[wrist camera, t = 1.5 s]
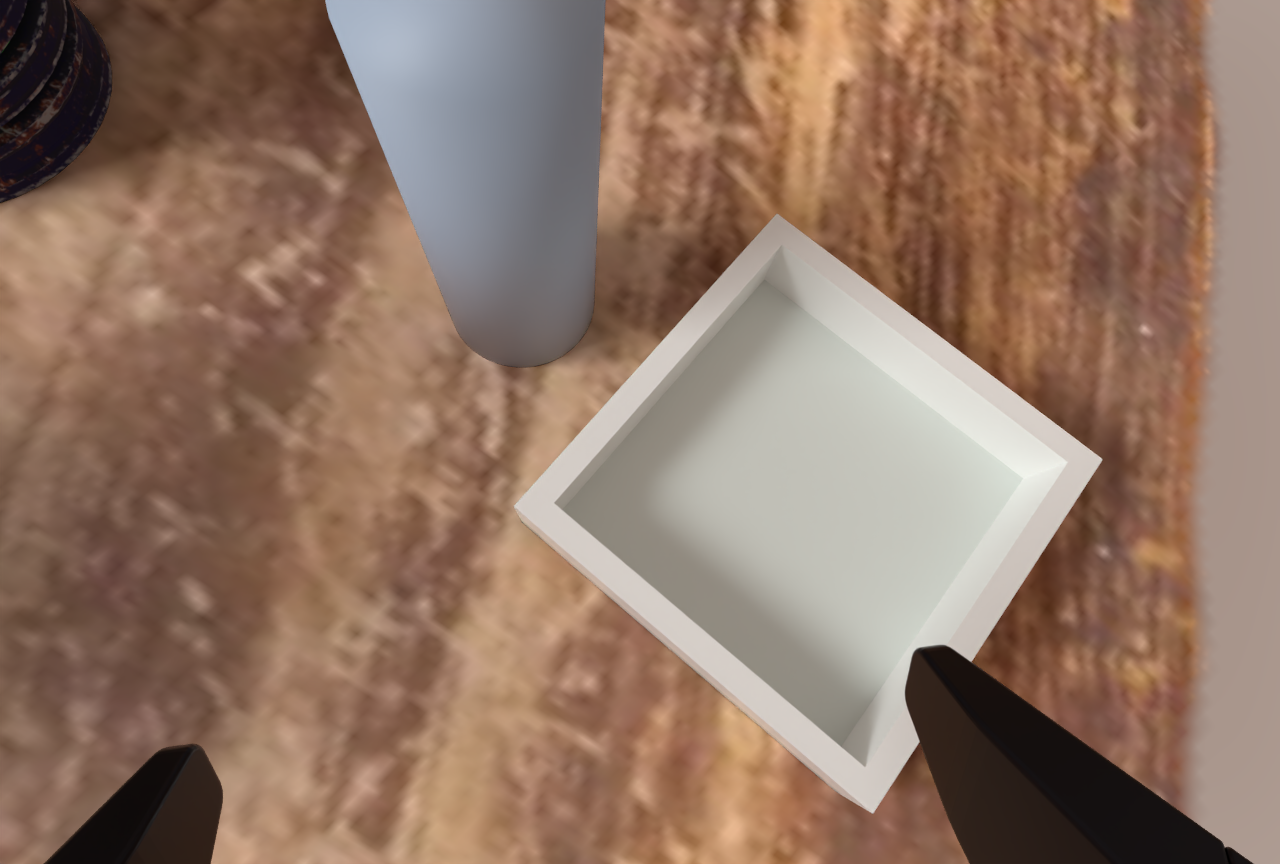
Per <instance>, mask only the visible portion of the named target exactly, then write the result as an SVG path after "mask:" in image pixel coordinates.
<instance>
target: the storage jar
mask: <svg viewBox="0 0 1280 864" xmlns="http://www.w3.org/2000/svg"><path fill="white" fill-rule="evenodd" d="M111 91H112V70H111V64H110V59H109V55H108V53H107V50H106V48H105V45H104V43H103V40H102V39H101V37H100V36H99V34H98V33H97V31H96V30H95V28H94V27H93V26H92V24H91V23H90V22H89V21H88V19H87V18H86V17H85V16H84V14H83V13H82V12H81V11H80V10H79V9H78V8H77V7H76V6H75V5H74V4H73V3H72V1H71V0H0V203H1V202H4V201H7V200H9V199H12V198H15V197H18V196H20V195H22V194H24V193H26V192H28V191H30V190H32V189H34V188H36V187H38V186H40V185H42V184H43V183H45V182H46V181H48V180H49V179H51V178H52V177H54V176H55V175H57V174H58V173H60V172H61V171H62V170H63V169H64V168H65V167H67V166H68V165H69V164H70V163H71V162H72V161H73V160H75V159H76V158H77V156H78V155H79V154H80V153H81V152H82V151H83V150H84V148H85V147H86V146H87V145H88V144H89V143H90V141H91V140H92V138H93V136H94V135H95V133H96V132H97V130H98V129H99V127H100V125H101V123H102V121H103V118H104V116H105V113H106V111H107V109H108V105H109V100H110V96H111Z"/></svg>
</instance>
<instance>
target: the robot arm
mask: <svg viewBox="0 0 1280 864" xmlns="http://www.w3.org/2000/svg"><path fill="white" fill-rule="evenodd" d="M905 701H906V705H907V709H908V711H909V714H910V717H911V720H912V722H913V725H914V728H915V730H916V733H917V736H918V739H919V741H920V744H921V747H922V750H923V752H924V755H925V758H926V760H927V763H928V766H929V769H930V771H931V774H932V777H933V779H934V782H935V785H936V788H937V790H938V793H939V796H940V799H941V801H942V804H943V806H944V809H945V811H946V814H947V816H948V819H949V821H950V823H951V826H952V828H953V830H954V832H955V834H956V837H957V839H958V841H959V843H960V845H961V847H962V849H963V851H964V853H965V855H966V857H967V859H968V861H969V863H970V864H1253V863H1252V862H1250V861H1249V860H1248V859H1246V858H1245V857H1243V856H1242V855H1240V854H1239V853H1238V852H1236V851H1235V850H1234V849H1232V848H1230V847H1224V845H1223V843H1222V841H1221V840H1219V839H1218V838H1216V837H1215V836H1214V835H1212V834H1211V833H1209V832H1208V831H1207V830H1205V829H1204V828H1202V827H1201V826H1200V825H1198V824H1197V823H1195V822H1194V821H1193V820H1191V819H1190V818H1188V817H1187V816H1186V815H1184V814H1183V813H1182V812H1180V811H1179V810H1177V809H1176V808H1175V807H1173V806H1172V805H1170V804H1169V803H1168V802H1166V801H1165V800H1163V799H1162V798H1161V797H1159V796H1158V795H1156V794H1155V793H1154V792H1152V791H1151V790H1149V789H1148V788H1147V787H1145V786H1144V785H1142V784H1141V783H1140V782H1138V781H1137V780H1135V779H1134V778H1133V777H1131V776H1130V775H1128V774H1127V773H1126V772H1124V771H1123V770H1121V769H1120V768H1119V767H1117V766H1116V765H1114V764H1113V763H1112V762H1110V761H1109V760H1107V759H1106V758H1105V757H1103V756H1102V755H1100V754H1099V753H1098V752H1096V751H1095V750H1094V749H1092V748H1091V747H1089V746H1088V745H1087V744H1085V743H1084V742H1082V741H1081V740H1080V739H1078V738H1077V737H1075V736H1074V735H1073V734H1071V733H1070V732H1068V731H1067V730H1066V729H1064V728H1063V727H1061V726H1060V725H1059V724H1057V723H1056V722H1054V721H1053V720H1052V719H1050V718H1049V717H1047V716H1046V715H1045V714H1043V713H1042V712H1040V711H1039V710H1038V709H1036V708H1035V707H1033V706H1032V705H1031V704H1029V703H1028V702H1026V701H1025V700H1024V699H1022V698H1021V697H1019V696H1018V695H1017V694H1015V693H1014V692H1013V691H1011V690H1010V689H1008V688H1007V687H1006V686H1004V685H1003V684H1001V683H1000V682H999V681H997V680H996V679H994V678H993V677H992V676H990V675H989V674H987V673H986V672H985V671H983V670H982V669H980V668H979V667H978V666H976V665H975V664H973V663H972V662H971V661H969V660H968V659H966V658H965V657H964V656H962V655H961V654H959V653H958V652H957V651H955V650H954V649H952V648H951V647H949V646H946V645H933V646H925V647H919V648H917V649H916V650H915V651H914V652H913V655H912V658H911V663H910V667H909V672H908V676H907V681H906V685H905ZM222 803H223V790H222V786H221V783H220V780H219V779H218V777H217V775H216V773H215V771H214V769H213V767H212V765H211V763H210V761H209V759H208V757H207V755H206V753H205V751H204V750H203V748H202V747H201V746H199V745H197V744H187V745H179V746H172V747H166V748H163V749H161V750H159V751H158V752H156V753H155V754H154V755H153V756H152V757H151V758H150V759H149V760H148V761H147V762H146V763H145V764H144V765H143V766H142V767H141V768H140V769H139V770H138V771H137V772H136V773H135V774H134V775H133V776H132V777H131V778H130V779H129V780H128V781H127V782H126V783H125V784H124V785H123V786H122V787H121V788H120V789H119V790H118V791H117V792H116V793H115V794H114V795H112V796H111V797H110V798H109V799H108V800H107V801H106V802H105V803H104V804H103V805H102V806H101V807H100V808H99V809H98V810H97V811H96V812H95V813H94V814H93V815H92V816H91V817H90V818H89V819H88V820H87V821H86V822H85V823H84V824H83V825H82V826H81V827H80V828H79V829H78V830H77V831H76V832H75V833H74V834H73V835H72V836H71V837H70V838H69V839H68V840H67V841H66V842H65V843H64V844H63V845H62V846H61V847H60V848H59V849H58V850H57V851H56V852H55V853H54V854H53V855H52V856H51V857H50V858H49V859H48V860H47V861H46V862H45V863H44V864H211V859H212V854H213V849H214V844H215V839H216V834H217V829H218V824H219V819H220V814H221V809H222Z"/></svg>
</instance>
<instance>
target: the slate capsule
mask: <svg viewBox="0 0 1280 864" xmlns="http://www.w3.org/2000/svg"><path fill="white" fill-rule="evenodd" d="M325 2H326V7H327V11H328V15H329V19H330V21H331V24H332V26H333V29H334V31H335V34H336V36H337V38H338V41H339V43H340V46H341V48H342V51H343V53H344V56H345V58H346V61H347V63H348V65H349V68H350V70H351V73H352V75H353V78H354V80H355V83H356V85H357V88H358V90H359V92H360V95H361V97H362V100H363V102H364V105H365V107H366V110H367V112H368V115H369V117H370V119H371V122H372V124H373V127H374V129H375V132H376V134H377V137H378V139H379V142H380V144H381V146H382V149H383V151H384V154H385V156H386V159H387V161H388V164H389V166H390V169H391V171H392V173H393V176H394V178H395V181H396V183H397V186H398V188H399V191H400V193H401V196H402V198H403V200H404V203H405V205H406V208H407V210H408V213H409V215H410V218H411V220H412V223H413V225H414V227H415V230H416V232H417V235H418V237H419V240H420V242H421V245H422V247H423V249H424V252H425V254H426V257H427V259H428V262H429V264H430V267H431V269H432V272H433V274H434V276H435V279H436V281H437V284H438V286H439V289H440V291H441V294H442V296H443V299H444V301H445V303H446V306H447V308H448V311H449V313H450V316H451V318H452V321H453V323H454V325H455V328H456V330H457V332H458V333H459V335H460V337H461V338H462V339H463V340H464V342H465V343H466V344H467V345H468V346H469V347H470V348H471V349H472V350H473V351H475V352H476V353H477V354H479V355H480V356H482V357H484V358H486V359H487V360H489V361H492V362H495V363H497V364H501V365H505V366H511V367H532V366H538V365H542V364H546V363H548V362H551V361H554V360H556V359H558V358H559V357H561V356H563V355H564V354H566V353H567V352H569V351H570V350H571V349H572V348H573V347H574V346H575V345H576V344H577V343H578V342H579V341H580V340H581V338H582V337H583V336H584V334H585V332H586V331H587V329H588V327H589V324H590V322H591V319H592V315H593V310H594V297H595V270H596V243H597V216H598V188H599V161H600V134H601V107H602V79H603V52H604V25H605V0H325Z"/></svg>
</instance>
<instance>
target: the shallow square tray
mask: <svg viewBox="0 0 1280 864" xmlns="http://www.w3.org/2000/svg"><path fill="white" fill-rule="evenodd" d="M1102 460H1103V459H1102V458H1100V457H1099V456H1098V455H1096V454H1095V453H1094V452H1092V451H1091V450H1090V449H1088V448H1087V447H1086V446H1084V445H1083V444H1082V443H1080V442H1079V441H1078V440H1076V439H1075V438H1074V437H1073V436H1071V435H1070V434H1069V433H1067V432H1066V431H1065V430H1063V429H1062V428H1061V427H1059V426H1058V425H1057V424H1055V423H1054V422H1053V421H1051V420H1050V419H1049V418H1047V417H1046V416H1045V415H1043V414H1042V413H1041V412H1039V411H1038V410H1037V409H1035V408H1034V407H1033V406H1031V405H1030V404H1029V403H1027V402H1026V401H1025V400H1023V399H1022V398H1021V397H1020V396H1018V395H1017V394H1016V393H1014V392H1013V391H1012V390H1010V389H1009V388H1008V387H1006V386H1005V385H1004V384H1002V383H1001V382H1000V381H998V380H997V379H996V378H994V377H993V376H992V375H990V374H989V373H988V372H986V371H985V370H984V369H982V368H981V367H980V366H978V365H977V364H976V363H974V362H973V361H972V360H970V359H969V358H968V357H967V356H965V355H964V354H963V353H961V352H960V351H959V350H957V349H956V348H955V347H953V346H952V345H951V344H949V343H948V342H947V341H945V340H944V339H943V338H941V337H940V336H939V335H937V334H936V333H935V332H933V331H932V330H931V329H929V328H928V327H927V326H925V325H924V324H923V323H921V322H920V321H919V320H917V319H916V318H915V317H914V316H912V315H911V314H910V313H908V312H907V311H906V310H904V309H903V308H902V307H900V306H899V305H898V304H896V303H895V302H894V301H892V300H891V299H890V298H888V297H887V296H886V295H884V294H883V293H882V292H880V291H879V290H878V289H876V288H875V287H874V286H872V285H871V284H870V283H868V282H867V281H866V280H865V279H863V278H862V277H861V276H859V275H858V274H857V273H855V272H854V271H853V270H851V269H850V268H849V267H847V266H846V265H845V264H843V263H842V262H841V261H839V260H838V259H837V258H835V257H834V256H833V255H831V254H830V253H829V252H827V251H826V250H825V249H823V248H822V247H821V246H819V245H818V244H817V243H815V242H814V241H813V240H812V239H810V238H809V237H808V236H806V235H805V234H804V233H802V232H801V231H800V230H798V229H797V228H796V227H794V226H793V225H792V224H790V223H789V222H788V221H786V220H785V219H784V218H782V217H781V216H780V215H778V214H776V215H775V216H774V217H773V218H772V219H771V221H770V222H769V223H768V224H767V225H766V226H765V227H764V228H763V229H762V231H761V232H760V233H759V234H758V235H757V236H756V237H755V238H754V239H753V241H752V242H751V243H750V244H749V245H748V246H747V247H746V248H745V249H744V251H743V252H742V253H741V254H740V255H739V256H738V257H737V258H736V259H735V261H734V262H733V263H732V264H731V265H730V266H729V267H728V268H727V269H726V271H725V272H724V273H723V274H722V275H721V276H720V277H719V278H718V279H717V281H716V282H715V283H714V284H713V285H712V286H711V287H710V288H709V290H708V291H707V292H706V293H705V294H704V295H703V296H702V297H701V298H700V300H699V301H698V302H697V303H696V304H695V305H694V306H693V307H692V308H691V310H690V311H689V312H688V313H687V314H686V315H685V316H684V317H683V318H682V320H681V321H680V322H679V323H678V324H677V325H676V326H675V327H674V328H673V330H672V331H671V332H670V333H669V334H668V335H667V336H666V337H665V338H664V340H663V341H662V342H661V343H660V344H659V345H658V346H657V347H656V348H655V350H654V351H653V352H652V353H651V354H650V355H649V356H648V357H647V358H646V360H645V361H644V362H643V363H642V364H641V365H640V366H639V367H638V368H637V370H636V371H635V372H634V373H633V374H632V375H631V376H630V377H629V378H628V380H627V381H626V382H625V383H624V384H623V385H622V386H621V387H620V388H619V390H618V391H617V392H616V393H615V394H614V395H613V396H612V397H611V399H610V400H609V401H608V402H607V403H606V404H605V405H604V406H603V407H602V409H601V410H600V411H599V412H598V413H597V414H596V415H595V416H594V417H593V419H592V420H591V421H590V422H589V423H588V424H587V425H586V426H585V427H584V429H583V430H582V431H581V432H580V433H579V434H578V435H577V436H576V437H575V439H574V440H573V441H572V442H571V443H570V444H569V445H568V446H567V447H566V449H565V450H564V451H563V452H562V453H561V454H560V455H559V456H558V457H557V459H556V460H555V461H554V462H553V463H552V464H551V465H550V466H549V467H548V469H547V470H546V471H545V472H544V473H543V474H542V475H541V476H540V477H539V479H538V480H537V481H536V482H535V483H534V484H533V485H532V486H531V487H530V489H529V490H528V491H527V492H526V493H525V494H524V495H523V496H522V497H521V499H520V500H519V501H518V502H517V503H516V504H515V505H514V508H515V510H516V512H517V514H518V516H519V518H520V519H521V521H522V523H523V524H525V525H526V526H527V527H528V528H529V529H530V530H532V531H533V532H534V533H535V534H536V535H537V536H539V537H540V538H541V539H542V540H543V541H544V542H546V543H547V544H548V545H549V546H550V547H551V548H553V549H554V550H555V551H556V552H557V553H558V554H560V555H561V556H562V557H563V558H564V559H565V560H567V561H568V562H569V563H570V564H571V565H572V566H573V567H575V568H576V569H577V570H578V571H579V572H580V573H582V574H583V575H584V576H585V577H586V578H587V579H589V580H590V581H591V582H592V583H593V584H594V585H596V586H597V587H598V588H599V589H600V590H601V591H603V592H604V593H605V594H606V595H607V596H608V597H610V598H611V599H612V600H613V601H614V602H615V603H617V604H618V605H619V606H620V607H621V608H622V609H624V610H625V611H626V612H627V613H628V614H629V615H631V616H632V617H633V618H634V619H635V620H636V621H638V622H639V623H640V624H641V625H642V626H643V627H645V628H646V629H647V630H648V631H649V632H650V633H652V634H653V635H654V636H655V637H656V638H657V639H659V640H660V641H661V642H662V643H663V644H664V645H666V646H667V647H668V648H669V649H670V650H671V651H673V652H674V653H675V654H676V655H677V656H678V657H680V658H681V659H682V660H683V661H684V662H685V663H687V664H688V665H689V666H690V667H691V668H692V669H694V670H695V671H696V672H697V673H698V674H699V675H700V676H702V677H703V678H704V679H705V680H706V681H707V682H709V683H710V684H711V685H712V686H713V687H714V688H716V689H717V690H718V691H719V692H720V693H721V694H723V695H724V696H725V697H726V698H727V699H728V700H730V701H731V702H732V703H733V704H734V705H735V706H737V707H738V708H739V709H740V710H741V711H742V712H744V713H745V714H746V715H747V716H748V717H749V718H751V719H752V720H753V721H754V722H755V723H756V724H758V725H759V726H760V727H761V728H762V729H763V730H765V731H766V732H767V733H768V734H769V735H770V736H772V737H773V738H774V739H775V740H776V741H777V742H779V743H780V744H781V745H782V746H783V747H784V748H786V749H787V750H788V751H789V752H790V753H791V754H793V755H794V756H795V757H796V758H797V759H798V760H800V761H801V762H802V763H803V764H804V765H805V766H807V767H808V768H809V769H810V770H811V771H812V772H814V773H815V774H816V775H817V776H818V777H819V778H821V779H822V780H823V781H824V782H825V783H826V784H827V785H829V786H830V787H831V788H832V789H833V790H834V791H836V792H837V793H839V794H841V795H842V796H844V797H846V798H847V799H849V800H851V801H852V802H854V803H856V804H857V805H859V806H861V807H862V808H864V809H866V810H867V811H869V812H871V813H872V814H873V813H874V811H875V810H876V808H877V807H878V805H879V804H880V802H881V801H882V799H883V797H884V796H885V794H886V793H887V791H888V790H889V788H890V787H891V785H892V784H893V782H894V781H895V779H896V777H897V776H898V774H899V773H900V771H901V770H902V768H903V767H904V765H905V764H906V762H907V760H908V759H909V757H910V756H911V754H912V753H913V751H914V750H915V748H916V747H917V745H918V744H919V742H920V741H919V739H918V736H917V733H916V730H915V728H914V725H913V722H912V720H911V717H910V714H909V711H908V709H907V705H906V701H905V685H906V681H907V676H908V672H909V667H910V663H911V658H912V655H913V652H914V651H915V650H916V649H917V648H919V647H925V646H933V645H946V646H949V647H951V648H952V649H954V650H955V651H957V652H958V653H959V654H961V655H962V656H964V657H965V658H966V659H968V660H969V661H971V662H972V660H973V659H974V657H975V656H976V654H977V653H978V651H979V649H980V648H981V646H982V645H983V643H984V642H985V640H986V639H987V637H988V636H989V634H990V633H991V631H992V629H993V628H994V626H995V625H996V623H997V622H998V620H999V619H1000V617H1001V616H1002V614H1003V612H1004V611H1005V609H1006V608H1007V606H1008V605H1009V603H1010V602H1011V600H1012V599H1013V597H1014V596H1015V594H1016V592H1017V591H1018V589H1019V588H1020V586H1021V585H1022V583H1023V582H1024V580H1025V579H1026V577H1027V575H1028V574H1029V572H1030V571H1031V569H1032V568H1033V566H1034V565H1035V563H1036V562H1037V560H1038V559H1039V557H1040V555H1041V554H1042V552H1043V551H1044V549H1045V548H1046V546H1047V545H1048V543H1049V542H1050V540H1051V538H1052V537H1053V535H1054V534H1055V532H1056V531H1057V529H1058V528H1059V526H1060V525H1061V523H1062V522H1063V520H1064V518H1065V517H1066V515H1067V514H1068V512H1069V511H1070V509H1071V508H1072V506H1073V505H1074V503H1075V502H1076V500H1077V498H1078V497H1079V495H1080V494H1081V492H1082V491H1083V489H1084V488H1085V486H1086V485H1087V483H1088V481H1089V480H1090V478H1091V477H1092V475H1093V474H1094V472H1095V471H1096V469H1097V468H1098V466H1099V465H1100V463H1101V461H1102Z"/></svg>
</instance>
